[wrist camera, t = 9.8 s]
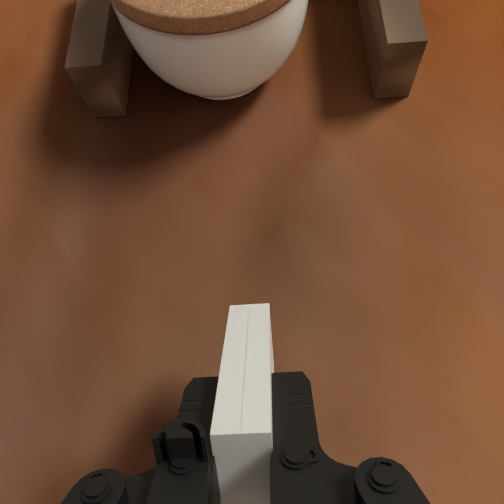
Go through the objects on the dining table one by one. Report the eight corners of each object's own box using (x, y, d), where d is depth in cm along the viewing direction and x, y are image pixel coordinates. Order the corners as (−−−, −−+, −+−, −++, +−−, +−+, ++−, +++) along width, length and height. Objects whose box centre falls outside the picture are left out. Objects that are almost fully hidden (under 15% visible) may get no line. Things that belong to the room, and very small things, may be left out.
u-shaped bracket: (94, 117, 27) (64, 67, 24) (113, -16, 32) (91, -75, 28) (407, 96, 26) (427, 40, 22) (380, -39, 31) (393, -104, 27)
